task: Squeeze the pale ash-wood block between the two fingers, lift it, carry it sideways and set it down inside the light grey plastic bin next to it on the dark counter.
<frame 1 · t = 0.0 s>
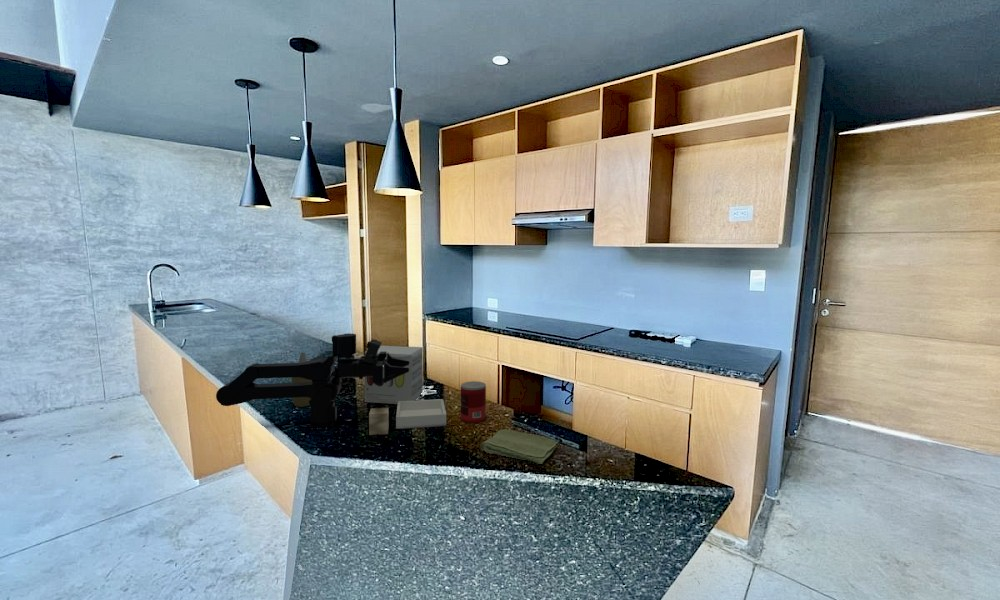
hand: (409, 366, 127), 17 cm above the countertop, tool horizontal, fingers open, 9 cm apart
canned food: (473, 419, 129), on the countertop
ash block: (379, 431, 118), on the countertop
washcloth: (519, 451, 107), on the countertop
squeeze bottle: (304, 405, 140), on the countertop
grey bin: (421, 418, 128), on the countertop
supplement box: (394, 399, 148), on the countertop
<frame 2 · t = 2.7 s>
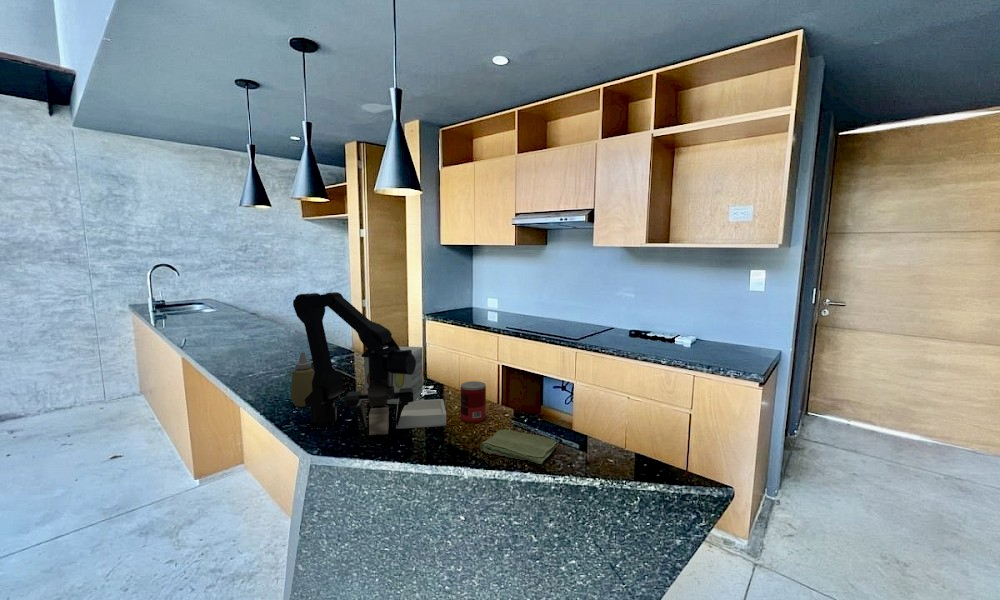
hand: (381, 426, 118), 2 cm above the countertop, tool pointing down, fingers open, 9 cm apart
nothing on the countertop moved.
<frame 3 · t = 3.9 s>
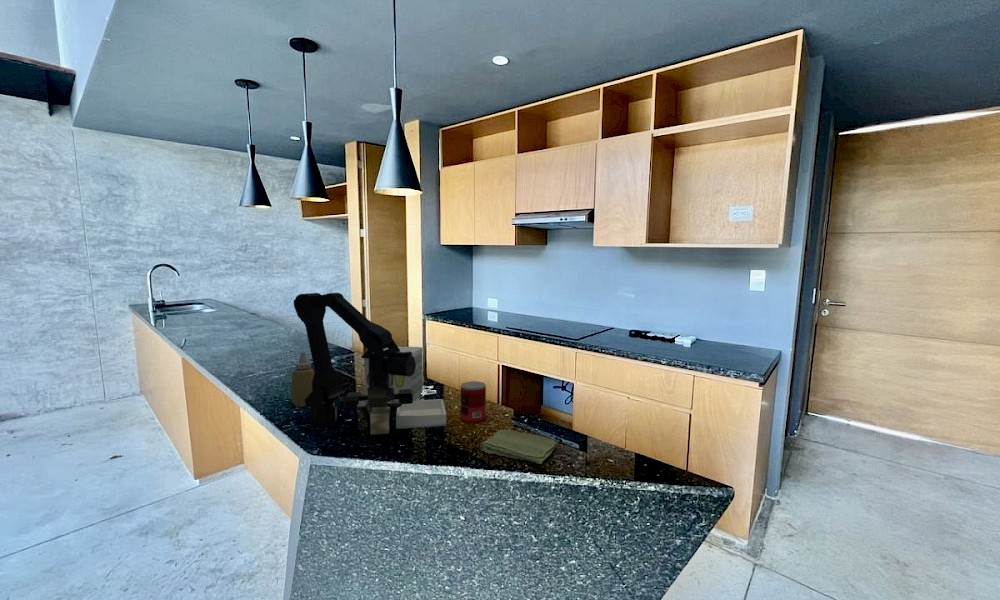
hand: (380, 427, 118), 1 cm above the countertop, tool pointing down, fingers closed on ash block, 5 cm apart
ash block: (380, 430, 118), on the countertop, touching gripper
everything else where it was.
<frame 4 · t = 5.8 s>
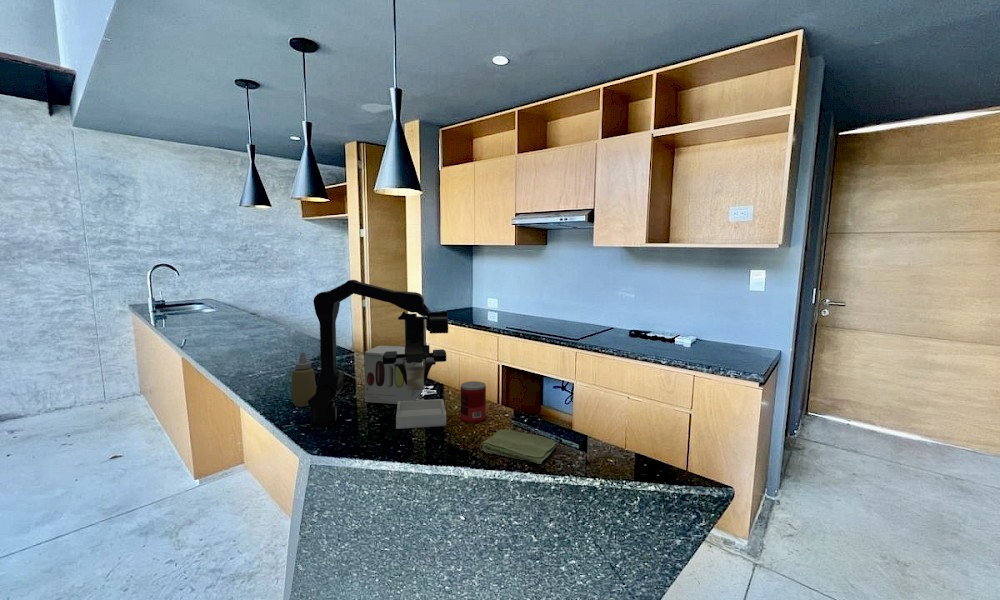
hand: (415, 384, 126), 11 cm above the countertop, tool pointing down, fingers closed on ash block, 5 cm apart
ash block: (415, 387, 126), point 10 cm above the countertop, touching gripper
everything else where it was.
when the fingers open (3 cm above the countertop, at t = 8.2 s): ash block drops 2 cm, resting on grey bin.
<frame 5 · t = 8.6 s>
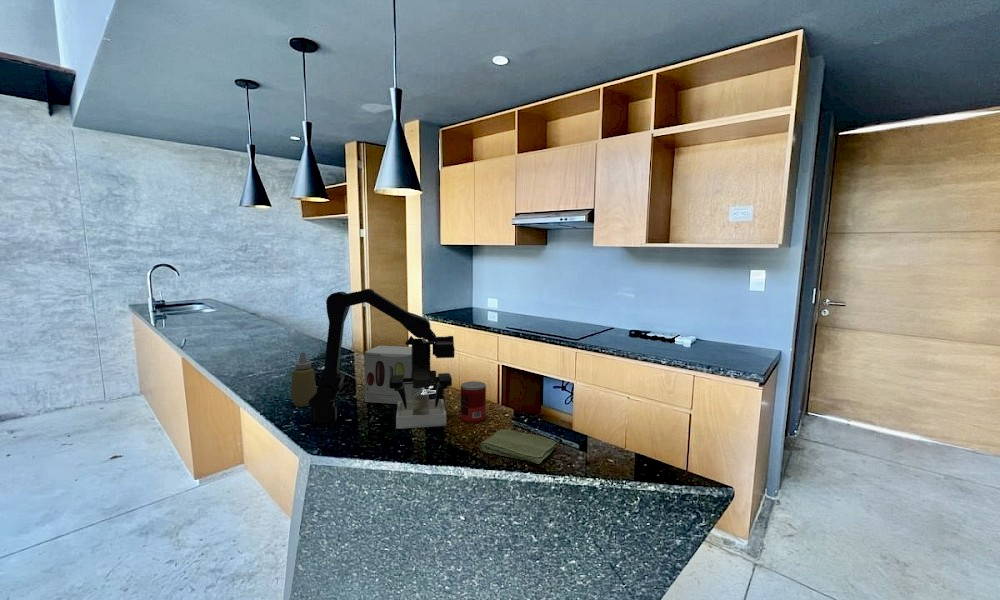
hand: (421, 407, 128), 3 cm above the countertop, tool pointing down, fingers open, 9 cm apart
ash block: (421, 416, 129), point 1 cm above the countertop, touching grey bin
everything else where it was.
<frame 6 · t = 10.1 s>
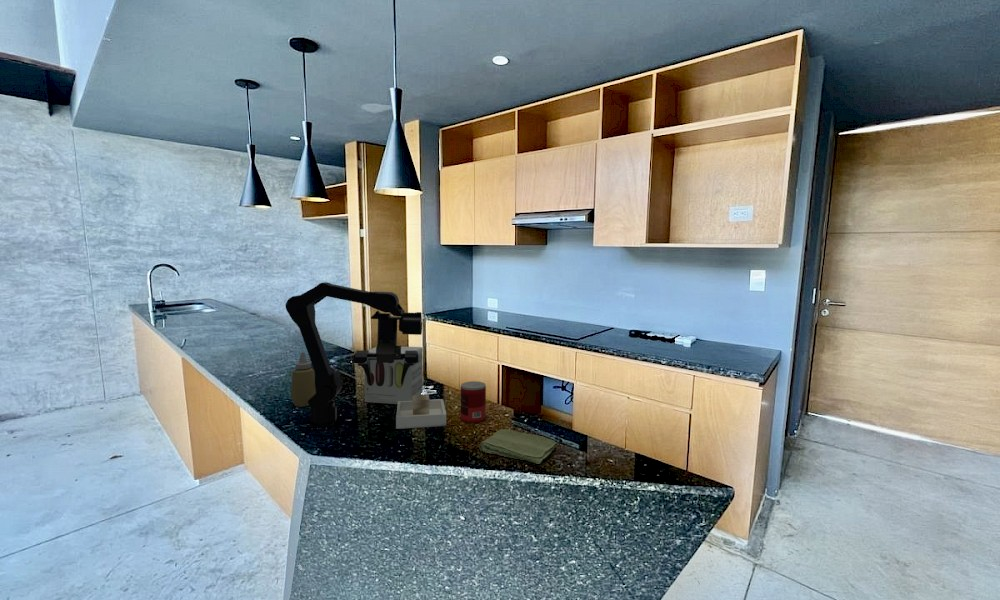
hand: (386, 384, 125), 11 cm above the countertop, tool pointing down, fingers open, 9 cm apart
nothing on the countertop moved.
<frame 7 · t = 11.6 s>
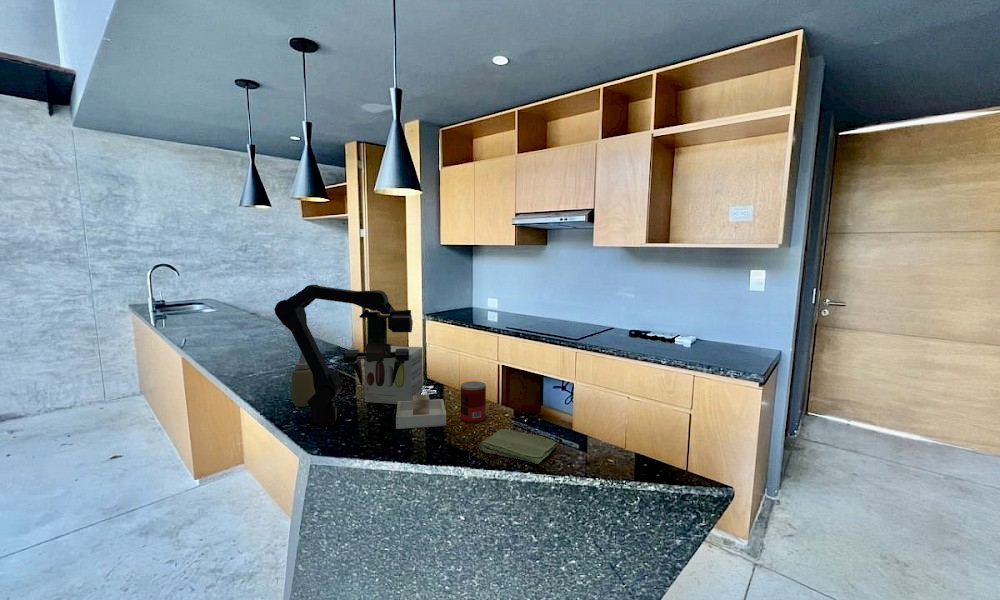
hand: (377, 383, 124), 12 cm above the countertop, tool pointing down, fingers open, 9 cm apart
nothing on the countertop moved.
at the end: ash block inside the target area on the grey bin (0.3 cm from its centre), point 0.6 cm above the grey bin's base; ash block tilted 0°; the gripper is holding nothing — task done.
